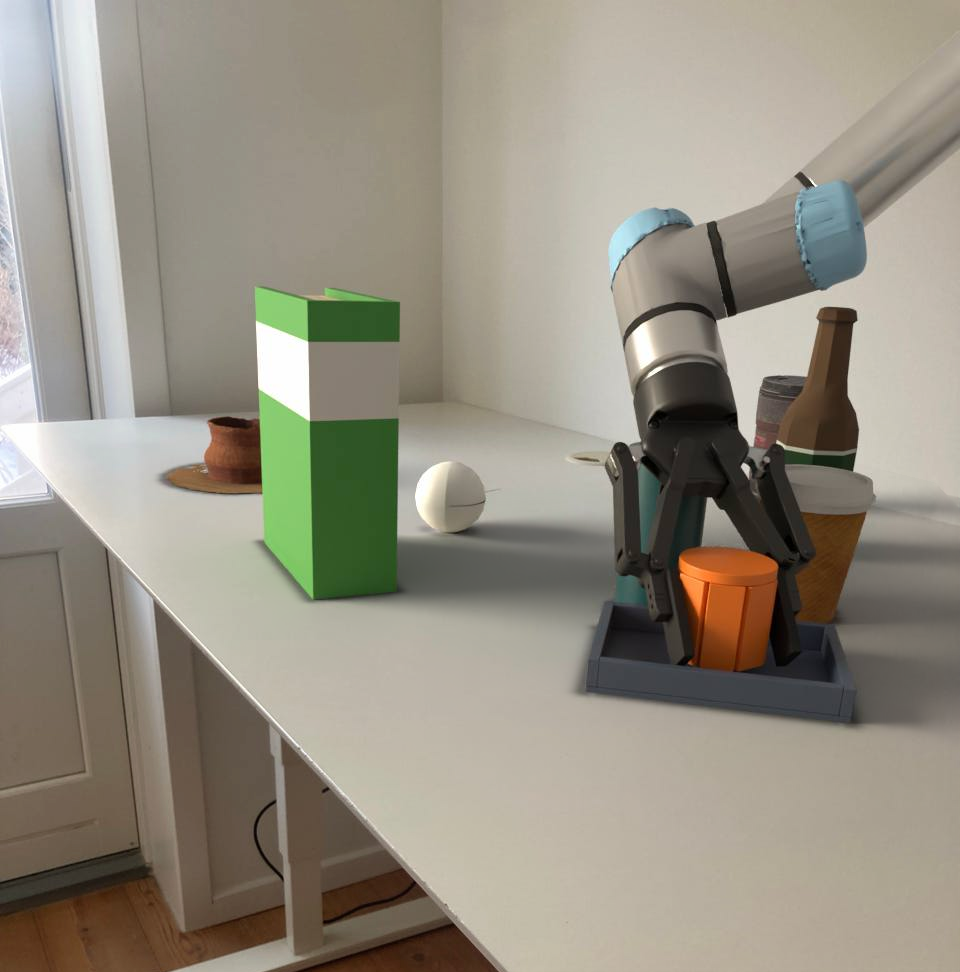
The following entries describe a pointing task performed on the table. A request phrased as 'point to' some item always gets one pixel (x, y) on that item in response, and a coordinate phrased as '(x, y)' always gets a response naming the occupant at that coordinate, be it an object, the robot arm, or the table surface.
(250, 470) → the ceramic pot
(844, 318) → the beer bottle
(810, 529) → the disposable coffee cup
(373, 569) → the hardback book
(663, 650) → the tray
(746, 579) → the cap
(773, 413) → the travel mug
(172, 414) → the table surface
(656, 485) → the water bottle
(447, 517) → the white ball
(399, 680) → the table surface
